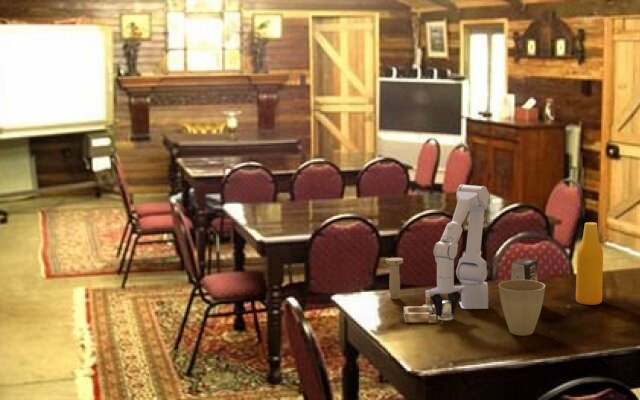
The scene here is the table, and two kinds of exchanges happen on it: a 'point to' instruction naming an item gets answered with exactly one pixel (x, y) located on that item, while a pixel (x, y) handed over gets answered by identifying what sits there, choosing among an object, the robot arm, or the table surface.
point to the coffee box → (524, 270)
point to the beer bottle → (589, 267)
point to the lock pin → (428, 305)
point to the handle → (394, 276)
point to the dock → (419, 314)
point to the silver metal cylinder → (446, 311)
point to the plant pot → (521, 304)
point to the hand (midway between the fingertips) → (445, 314)
